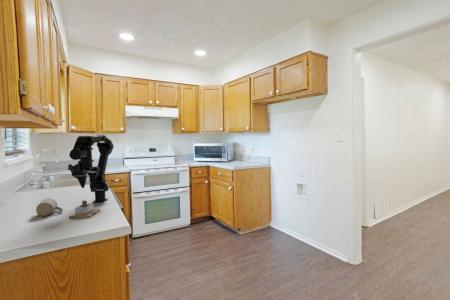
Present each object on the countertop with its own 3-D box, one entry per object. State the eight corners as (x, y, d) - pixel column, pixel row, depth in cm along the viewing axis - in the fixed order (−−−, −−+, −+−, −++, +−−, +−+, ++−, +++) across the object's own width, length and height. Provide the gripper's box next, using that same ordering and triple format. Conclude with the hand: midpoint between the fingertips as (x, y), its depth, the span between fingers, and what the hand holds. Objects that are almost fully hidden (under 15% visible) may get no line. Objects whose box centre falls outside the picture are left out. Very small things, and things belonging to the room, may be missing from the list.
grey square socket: (82, 211, 121) (81, 204, 121) (94, 210, 121) (93, 203, 121) (75, 214, 115) (75, 207, 115) (87, 214, 115) (87, 207, 115)
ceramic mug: (35, 217, 115) (34, 202, 115) (39, 213, 122) (39, 198, 122) (61, 214, 119) (60, 200, 119) (64, 210, 127) (63, 196, 127)
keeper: (80, 211, 123) (79, 198, 123) (100, 211, 124) (99, 198, 123) (68, 218, 113) (68, 204, 113) (90, 217, 114) (89, 203, 113)
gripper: (80, 157, 139) (81, 183, 139) (60, 160, 120) (61, 190, 121) (99, 157, 139) (101, 183, 140) (82, 159, 121) (84, 189, 121)
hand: (87, 186), depth 130 cm, fingers open, 9 cm apart
